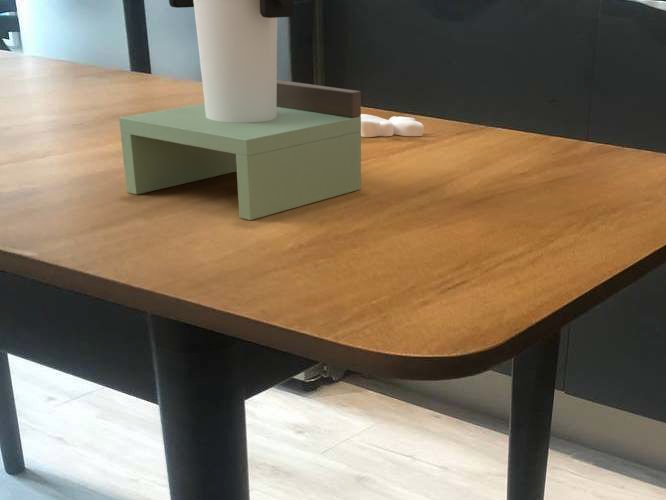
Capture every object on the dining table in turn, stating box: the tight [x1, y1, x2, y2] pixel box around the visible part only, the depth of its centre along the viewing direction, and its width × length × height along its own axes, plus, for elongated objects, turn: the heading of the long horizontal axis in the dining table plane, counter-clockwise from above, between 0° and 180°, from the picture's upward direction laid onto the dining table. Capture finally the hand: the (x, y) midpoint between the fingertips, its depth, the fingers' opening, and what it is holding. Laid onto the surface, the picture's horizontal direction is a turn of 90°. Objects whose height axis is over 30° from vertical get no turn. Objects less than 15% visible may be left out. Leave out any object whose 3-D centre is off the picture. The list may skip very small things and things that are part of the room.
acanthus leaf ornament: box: [360, 113, 425, 138], centre depth 117 cm, size 8×7×2 cm
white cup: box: [193, 0, 278, 123], centre depth 87 cm, size 7×7×10 cm
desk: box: [118, 79, 362, 221], centre depth 90 cm, size 14×14×8 cm
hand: (230, 11), depth 85 cm, fingers open, 9 cm apart
